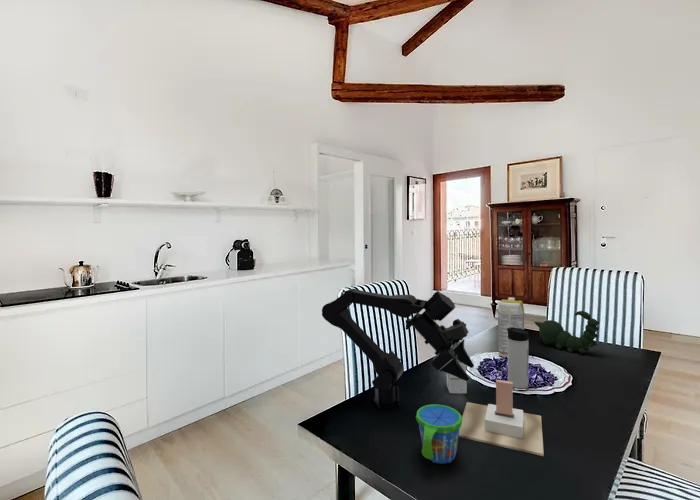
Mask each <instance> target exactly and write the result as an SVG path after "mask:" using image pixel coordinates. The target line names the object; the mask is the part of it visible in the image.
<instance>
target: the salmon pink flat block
mask: <svg viewBox="0 0 700 500" xmlns="http://www.w3.org/2000/svg"><path fill="white" fill-rule="evenodd" d="M513 391H514V390H513V382H509V381H508V380H501V379H495V405H496V413H497V414H503V415H508V416H513V408H514V407H513V404H514V403H513V402H514V401H513V393H514V392H513Z"/></svg>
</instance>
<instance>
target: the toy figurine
mask: <svg viewBox="0 0 700 500" xmlns="http://www.w3.org/2000/svg"><path fill="white" fill-rule="evenodd" d="M574 316H581V317H582V318H583V319H584V320H587V322H586V323H587V324H586V325H585V328H584V329H585V330H584V331H583V332H582V335H581V336H580V337H579V336H575V335H572V334H571V333H570V332H569V331H567V330H565V329H564V328H563V325H561V323H559V322H558V321H555V320H552V319H551V320H550V319H549V320H548V319H547V320H545V321H542V322H541V321H534V322H533V323H534V324H535V325H536V326H537V327H538V328H539V329H538V331H539V337H540V338H542V339H543V340H542V342H543V343H544V345H546V346H550V345H552V343H555V347H556V348H557V349H559V350H560V349H563V348H567V349H566V350H567V352H568V353H570V354H571V353H573V352H575V351H578V352H579V353H580V354H584V353H585V352H588V351H589V350H590V348H594V347H596V346H598V345H597V344H598V342H596V341H595V338H596V339H598V337H599V335H598V334H597V333H596V332H598V331H599V329H600V328H599V327H597V326H598V325H599V324H600V322H599V321H598V320H597V319H595V318H592V317H591V314H590V313H588V311H584V310H579V311H576V312H575V313H574Z"/></svg>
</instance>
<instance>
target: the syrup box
mask: <svg viewBox="0 0 700 500" xmlns="http://www.w3.org/2000/svg"><path fill="white" fill-rule="evenodd" d="M457 361H458V363H459V364H460V366H461V367H462V368H463V370H464V371H465V372H466V373H467V365H465V364H463V363H462V362H460V361H459V360H457ZM445 374H446V378H445V379H446V387H447V390H448V392H449V394H460V395H462V394H467V387H468V386H467V381H465V380H463V379H460V378H458V377H456V376H454V375H451V374H449V373H446V372H445Z"/></svg>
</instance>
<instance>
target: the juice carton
mask: <svg viewBox="0 0 700 500" xmlns="http://www.w3.org/2000/svg"><path fill="white" fill-rule="evenodd" d="M507 328H519V329H523V330H524V331H525V308H524V303H523V300H516V298H515V297H507V299H501V300H500V301H499V303H498V307H497V349H498V354H499V357H500V356H502V357H501V358H505V357H508V331H507Z"/></svg>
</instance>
